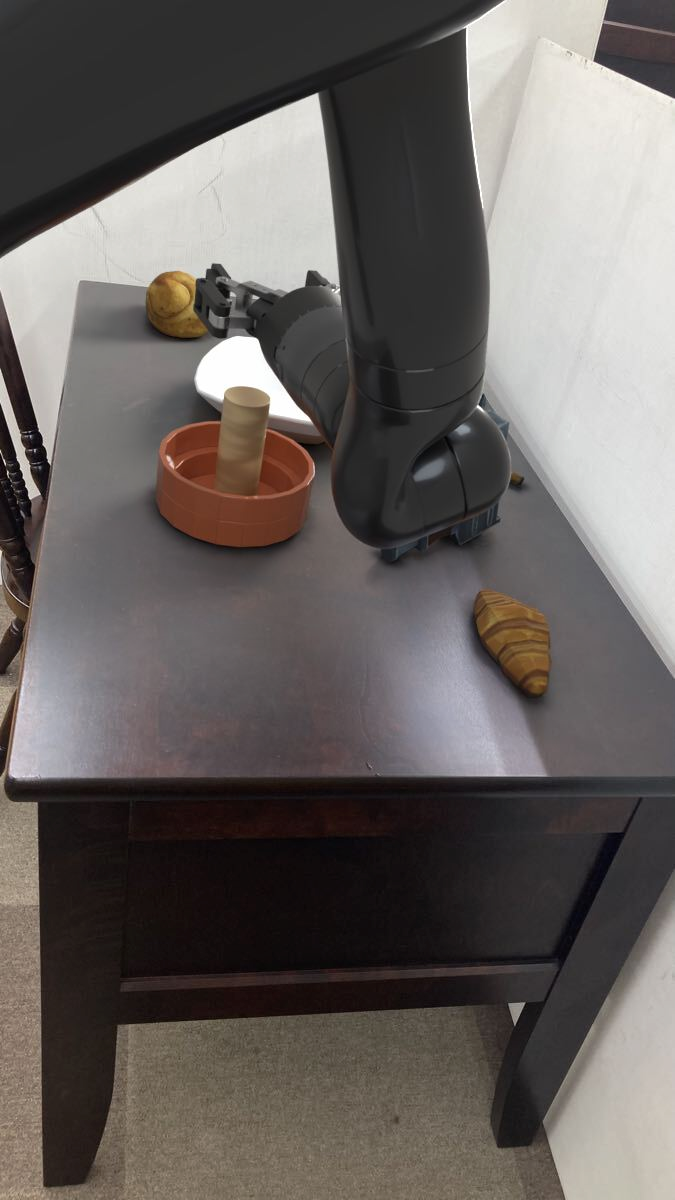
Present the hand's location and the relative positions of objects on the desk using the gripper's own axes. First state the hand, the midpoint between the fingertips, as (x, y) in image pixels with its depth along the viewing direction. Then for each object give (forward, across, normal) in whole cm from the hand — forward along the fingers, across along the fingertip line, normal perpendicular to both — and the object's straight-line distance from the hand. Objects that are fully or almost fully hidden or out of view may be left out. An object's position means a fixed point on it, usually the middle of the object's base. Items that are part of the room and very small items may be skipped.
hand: (262, 278), depth 76 cm
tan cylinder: (+1, 0, +23) cm, 23 cm away
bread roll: (+49, -6, +24) cm, 55 cm away
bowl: (+21, -12, +24) cm, 34 cm away
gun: (-7, -20, +24) cm, 32 cm away
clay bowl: (+1, 0, +24) cm, 24 cm away
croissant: (-24, -19, +24) cm, 39 cm away
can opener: (+7, -34, +24) cm, 42 cm away
